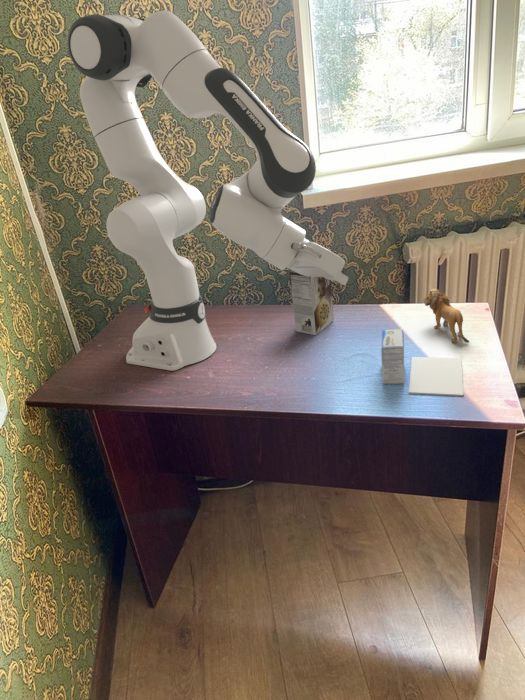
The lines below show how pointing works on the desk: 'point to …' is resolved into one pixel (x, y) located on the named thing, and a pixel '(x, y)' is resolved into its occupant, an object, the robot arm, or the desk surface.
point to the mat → (436, 376)
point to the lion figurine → (445, 312)
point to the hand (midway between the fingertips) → (344, 281)
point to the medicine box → (392, 356)
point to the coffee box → (311, 303)
